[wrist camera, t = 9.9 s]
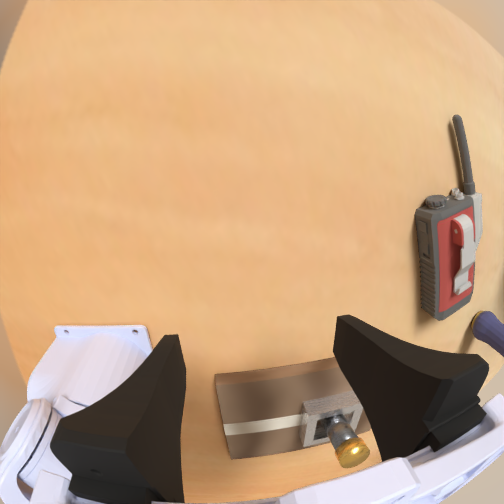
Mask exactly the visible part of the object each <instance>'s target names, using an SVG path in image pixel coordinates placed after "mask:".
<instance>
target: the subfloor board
mask: <svg viewBox="0 0 504 504" xmlns="http://www.w3.org/2000/svg"><path fill="white" fill-rule="evenodd" d="M215 381H216V390H217V395H218V400H219V405H220V410H221V415H222V420H223V425H224V430H225V435H226V439H227V443H228V448H229V452H230V456H231V459H241V458H251V457H259V456H266V455H273V454H279V453H285V452H290V451H296V450H300V449H305V448H310V447H314V446H318V445H323V444H326V443H330V442H331V441H327V442H323V443H319V444H315V445H310V446H306V447H303V444H302V441H301V438H300V435H299V430H300V425H301V417H302V406H303V402H305V401H310V400H314V399H319V398H324V397H328V396H332V395H336V394H340V393H344V392H348V391H352V390H353V389H352V388H351V386H350V384H349V383H348V381H347V379H346V378H345V376H344V374H343V373H342V371H341V369H340V367H339V365H338V363H337V360H336V358H335V357H333V358H328V359H323V360H318V361H313V362H307V363H302V364H296V365H290V366H283V367H276V368H269V369H261V370H253V371H244V372H235V373H224V374H215ZM343 415H344V413H343ZM317 425H321V422H320V420H317ZM317 425H316V426H317ZM370 429H371V426H370V423H369V421H368V418H367V416H366V414H365V411H364V409H363V410H362V413H361V416H360V419H359V422H358V424H357V427H356V430H355V433H356V435H358V434H361V433H364V432H367V431H370Z"/></svg>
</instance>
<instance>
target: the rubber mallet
mask: <svg viewBox="0 0 504 504" xmlns="http://www.w3.org/2000/svg"><path fill="white" fill-rule="evenodd" d="M471 328H472V330H473V334H474V336H475V337H476V338H477V339H478V340H481V341H483V342H485V343H487V344H489V345H490V346H491V347H492V348H494V349H495V350H496V351H497V352H499V353H500V354H501V355H502V356H503V357H504V324H503V323H501V322H500V321H499V320H498V319H497V318H496V316H495V315H494V314H493V313H492V312H490V311H480V312H478V313H477V315H476V316H475V317H474V319H473V321H472V325H471Z"/></svg>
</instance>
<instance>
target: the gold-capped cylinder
mask: <svg viewBox="0 0 504 504" xmlns="http://www.w3.org/2000/svg"><path fill="white" fill-rule="evenodd" d="M319 420H320V422H321V424H322V426H323V428H324V430H325V432H326V434H327V435H328V437H329V439H330V441H331V443H332V445H333V447H334V449H335V450H336V451H335V455H336V457H337V459H338V461H339V463H340V465H341V466H342V467H343V468H352V467H355V466H357V465H359V464H361V463H362V462H363V461H365V460H366V459H367V457H368V456H369V454H370V450H369V448H368V447H367V446H366V444H365V443H364V441H363V440H362V439H361V438H358V436H357V435H356V433H355V432H354V430H353V429H352V427H351V426H350V424H349V423H348V421H347V420H346V418H345V417H344V415H343V414H340V415H336V416H332V417H328V418H324V419H319Z"/></svg>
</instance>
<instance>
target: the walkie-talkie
mask: <svg viewBox="0 0 504 504" xmlns="http://www.w3.org/2000/svg"><path fill="white" fill-rule="evenodd" d="M452 120H453V124H454V128H455V132H456V137H457V141H458V146H459V152H460V157H461V163H462V170H463V177H464V182H463V186H464V193H463V192H459V189H458V188H453V189H452V193H451V195H449V196H447V197H445V196H443V195H432V196H429V197H427V198H426V199H425V202H426V205H425V206H423V207H420V208H418V209H416V212H415V220H416V228H417V237H418V248H419V258H420V264H421V266H420V268H421V271H420V273H421V276H420V277H421V287H422V289H421V291H422V294H421V296H422V298H421V300H422V302H421V304H422V307H421V308H423V309H424V310H425V311H426V312H428V313H429V314H430V315H431V316H433V317H434V318H435V319H437V320H439V321H440V320H444V319H445V318H447V317H449V316H450V315H452V314H453V313H454V312H456V311H457V310H459V309H460V308H462V307H463V306H465V305H466V304H467V303H469V302H470V299H471V296H472V293H473V288H474V287H473V286H474V271H475V251H476V250H477V247H478V244H479V241H480V238H481V235H482V205H481V203H482V194H481V193H477V192H475V183H474V182H473V176H472V169H471V162H470V156H469V150H468V145H467V140H466V135H465V131H464V126H463V122H462V118H461V117H460V116H459V115H454V116H453V119H452Z"/></svg>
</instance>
